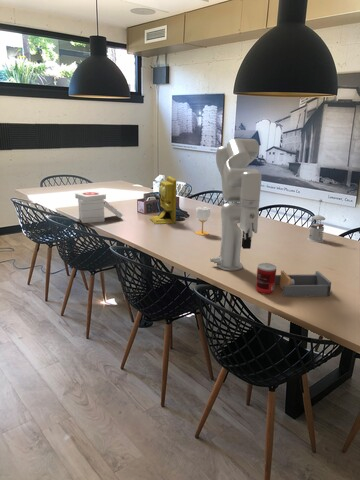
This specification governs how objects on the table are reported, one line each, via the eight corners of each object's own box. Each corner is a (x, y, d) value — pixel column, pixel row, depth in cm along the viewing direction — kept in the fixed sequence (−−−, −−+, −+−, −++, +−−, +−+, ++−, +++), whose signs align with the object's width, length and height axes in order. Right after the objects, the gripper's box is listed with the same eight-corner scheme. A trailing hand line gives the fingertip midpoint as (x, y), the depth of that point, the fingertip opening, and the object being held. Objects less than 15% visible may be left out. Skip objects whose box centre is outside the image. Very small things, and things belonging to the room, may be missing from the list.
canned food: (271, 286, 169) (273, 262, 166) (276, 294, 162) (278, 269, 158) (253, 286, 169) (255, 262, 166) (257, 294, 161) (260, 269, 158)
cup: (204, 236, 240) (205, 210, 235) (192, 233, 245) (193, 208, 240) (212, 233, 247) (213, 208, 242) (200, 230, 252) (201, 206, 247)
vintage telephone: (147, 215, 287) (147, 174, 278) (165, 214, 291) (165, 174, 282) (157, 226, 258) (157, 181, 249) (177, 225, 262) (178, 181, 253)
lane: (283, 296, 160) (285, 283, 158) (273, 284, 172) (275, 271, 170) (329, 295, 162) (331, 282, 160) (316, 283, 173) (318, 271, 172)
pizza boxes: (123, 220, 271) (123, 195, 266) (79, 223, 260) (78, 197, 255) (117, 214, 288) (116, 190, 283) (75, 217, 277) (74, 192, 272)
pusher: (286, 294, 162) (288, 278, 159) (279, 285, 170) (281, 270, 168) (296, 294, 162) (298, 278, 160) (288, 285, 171) (290, 270, 169)
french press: (305, 240, 236) (310, 199, 229) (309, 236, 246) (314, 196, 239) (322, 243, 232) (328, 201, 225) (325, 238, 242) (331, 198, 235)
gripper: (264, 207, 146) (260, 254, 152) (253, 199, 161) (250, 242, 166) (245, 207, 146) (241, 254, 151) (235, 199, 160) (232, 242, 166)
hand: (246, 247), depth 159 cm, fingers closed
